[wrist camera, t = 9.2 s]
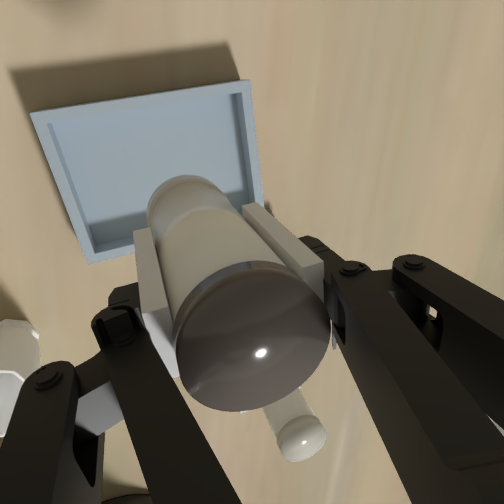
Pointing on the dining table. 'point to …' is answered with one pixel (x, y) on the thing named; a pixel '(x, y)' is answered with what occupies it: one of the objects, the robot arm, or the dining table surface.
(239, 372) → the cylinder
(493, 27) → the dining table surface
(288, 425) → the cylinder
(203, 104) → the parts tray
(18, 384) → the cup
